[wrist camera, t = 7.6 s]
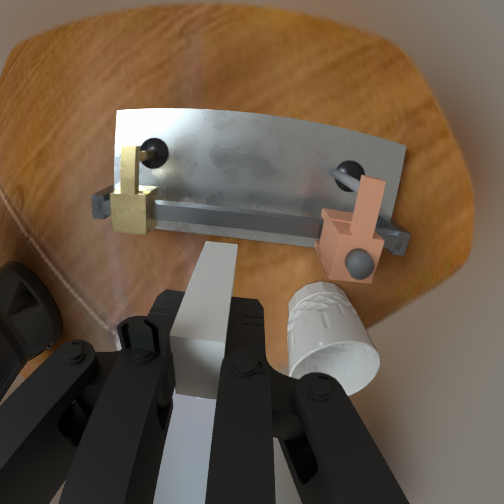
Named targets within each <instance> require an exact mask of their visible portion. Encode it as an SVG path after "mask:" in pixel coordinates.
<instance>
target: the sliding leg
mask: <svg viewBox="0 0 504 504" xmlns="http://www.w3.org/2000/svg"><path fill="white" fill-rule="evenodd" d="M333 177H334V178H335V179H337V180H338V181H340V182H341V183H343V184H344V185H346V186H347V187H349V188H350V189H352V190H353V191H354V192H356V193H357V194H358V195H357V199H356V204H355V208H354V213H351V212H345V211H339V210H333V209H327V208H322V212H321V216H322V218H323V219H324V223H323V228H322V233H321V237H320V240H316V241H315V246H314V248H315V250H316V252H317V255H318V257H319V260H320V262H322V265H323V267H324V270H325V272H326V275H327V277H328V279H331V280H341V281H351V282H361V283H371V282H372V279H373V276H374V273H375V270H376V267H377V264H378V261H379V258H380V255H381V252H382V248H383V245H384V240H383V239H382V238H381V237H380V236H379V235H378V234H377V233H376V232H375V231H374V230H375V226H376V222H377V218H378V214H379V210H380V206H381V202H382V197H383V193H384V188H385V184H386V182H385V181H383V180H381V179H378V178H374V177H370V176H365V175H361V180H360V181H359V180H357V179H355V178H353V177H351V176H350V175H348V174H346V173H344V172H342V171H340V170H335V171H334V172H333Z"/></svg>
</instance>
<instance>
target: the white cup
mask: <svg viewBox="0 0 504 504" xmlns="http://www.w3.org/2000/svg"><path fill="white" fill-rule="evenodd" d="M287 328H288V333H287V339H288V372H289V373H288V376H289V377H293V378H296V379H300V378H301V377H302V376H303V375H305V374H308V373H311V372H321V373H325V374H329V375H330V376H332V377H334V378H335V379H337V381H338V382H339V383H340V384H341V385H342V387H343V389H344V390H345V392H346V394H347V395H348V396H350V395H352V394H354V393H356V392H358V391H359V390H361V389H363V388H364V387H365V386H366V385H368V384H369V382H371V381H372V379H373V378H374V377H375V375H376V374H377V372H378V370H379V367H380V356H379V354H378V352H377V350H376V348H375V346H374V344H373V342H372V340H371V338H370V336H369V334H368V332H367V330H366V328H365V326H364V324H363V322H362V320H361V319H360V317H359V316H358V314H357V312H356V310H355V308H354V307H353V306H352V304H351V303H350V301H349V300H348V298H347V296H346V294H345V292H344V291H343V290H342V289H341V288H339V287H338V286H337V285H335V284H334V283H328V282H322V281H320V282H315V283H311V284H307V285H305V286H304V287H302V288H301V289H300V290H298V291H297V292H295V294H294V295H293V297H292V299H291V300H290V302H289V304H288V325H287Z"/></svg>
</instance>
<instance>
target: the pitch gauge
mask: <svg viewBox="0 0 504 504" xmlns="http://www.w3.org/2000/svg"><path fill="white" fill-rule="evenodd" d="M405 152H406V146H405V145H402V144H399V143H396V142H392V141H389V140H386V139H382V138H379V137H375V136H372V135H368V134H364V133H360V132H356V131H352V130H348V129H344V128H340V127H335V126H330V125H326V124H321V123H316V122H310V121H305V120H299V119H293V118H287V117H280V116H273V115H265V114H257V113H247V112H237V111H224V110H208V109H134V110H118V111H117V122H116V137H115V168H114V185H112V186H110V187H108V188H105V189H103V190H101V191H99V192H97V193H95V194H92V195H91V197H92V214H93V218H95V219H106V218H107V217H109V216H110V215H111V223H112V231H117V232H126V233H135V234H143V235H146V234H147V233H148V232H151V231H152V230H153V229H163V230H172V231H181V232H189V233H198V234H207V235H215V236H224V237H232V238H241V239H249V240H257V241H265V242H273V243H281V244H289V245H297V246H305V247H313V248H314V246H315V241H316V240H320V237H321V233H322V228H323V223H324V219H323V218H322V216H321V212H322V208H327V209H333V210H339V211H345V212H351V213H354V208H355V204H356V199H357V195H358V194H357V193H356V192H354V191H353V190H352V189H350V188H349V187H347V186H346V185H344V184H343V183H341V182H340V181H338V180H337V179H335V178H334V177H333V172H334V171H335V170H340V171H342V172H344V173H346V174H348V175H350V176H351V177H353V178H355V179H357V180H359V181H360V180H361V175H365V176H370V177H374V178H378V179H381V180H383V181H385V182H386V184H385V188H384V193H383V197H382V202H381V206H380V210H379V214H378V218H377V222H376V226H375V230H374V231H375V232H376V233H377V234H378V235H379V236H380V237H381V238H382V239H383V240H384V245H383V248H385V249H388V250H389V251H390V252H391V253H392V254H394V255H401V256H404V254H405V251H406V248H407V245H408V242H409V239H410V235H411V233H409V232H408V231H407V230H406V229H404V228H403V227H402V226H401V225H399V224H398V223H397V222H396V221H394V220H393V219H392V218H391V216H392V213H393V209H394V204H395V200H396V196H397V192H398V187H399V183H400V178H401V173H402V168H403V163H404V157H405ZM383 248H382V249H383Z"/></svg>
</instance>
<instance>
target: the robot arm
mask: <svg viewBox="0 0 504 504" xmlns="http://www.w3.org/2000/svg"><path fill="white" fill-rule="evenodd" d="M237 248H238V244H229V243H220V242H211V241H206V242H205V245H204V247H203V250H202V252H201V254H200V257H199V259H198V262H197V264H196V267H195V269H194V272H193V274H192V277H191V279H190V282H189V284H188V287H187V290H186V292H181V291H174V290H167V289H166V290H165V291H164V292H162V293H161V294H160V295H158V296H157V298H156V300H155V302H154V304H153V306H152V308H151V310H150V313H149V314H148V316H134V317H129V318H127V319H125V320H123V321H122V322H121V323H120V324H119V325H118V326H117V330H118V334H119V339H120V343H121V347H122V349H121V350H120V351H115V352H95V350H94V348H93V346H92V345H91V344H90V343H88V342H86V341H83V340H72V341H68V342H66V343H64V344H63V345H61V346H60V347H59V348H58V349H57V350H56V351H55V352H53V353H52V354H51V355H50V356H49V357H48V358H47V359H46V360H45V361H44V362H43V363H42V364H41V365H40V366H39V367H38V368H37V369H36V370H35V371H34V372H33V373H32V374H31V375H30V376H29V377H28V378H27V379H26V380H25V381H24V382H23V383H22V384H21V385H20V386H19V387H18V388H17V389H16V390H15V391H14V392H13V393H12V394H11V395H10V396H9V397H8V398H7V399H6V400H5V401H4V402H3V404H2V405H1V406H0V504H49V503H50V501H51V500H52V498H53V497H54V496H55V494H56V493H57V491H58V490H59V488H60V487H61V486H62V484H63V483H64V481H65V480H66V482H65V484H64V488H63V491H62V494H61V497H60V501H59V504H153V500H154V495H155V489H156V484H157V479H158V474H159V469H160V464H161V459H162V455H163V449H164V445H165V440H166V436H167V432H168V427H169V423H170V418H171V414H172V409H173V398H172V396H173V392H174V388H175V390H176V393H177V394H182V395H188V396H194V397H201V398H209V399H217V400H216V409H215V417H214V426H213V434H212V435H213V436H212V444H211V452H210V461H209V470H208V480H207V490H206V500H205V504H276V503H275V475H274V449H273V437H275V438H278V440H279V442H280V446H281V448H282V451H283V454H284V457H285V459H286V462H287V465H288V467H289V470H290V473H291V475H292V478H293V481H294V483H295V486H296V489H297V491H298V494H299V496H300V499H301V502H302V504H409V502H408V500H407V498H406V497H405V495H404V493H403V491H402V489H401V488H400V486H399V484H398V482H397V480H396V479H395V477H394V475H393V473H392V472H391V470H390V468H389V466H388V465H387V463H386V461H385V459H384V458H383V456H382V454H381V452H380V451H379V449H378V447H377V445H376V444H375V442H374V440H373V439H372V437H371V435H370V433H369V432H368V430H367V428H366V426H365V425H364V423H363V421H362V420H361V418H360V416H359V414H358V413H357V411H356V409H355V407H354V406H353V404H352V402H351V401H350V399H349V397H348V395H347V394H346V392H345V390H344V389H343V387H342V385H341V384H340V383H339V382H338V381H337V379H335V378H334V377H332V376H330V375H329V374H325V373H321V372H311V373H308V374H305V375H303V376H302V377H301V378H300V379H296V378H293V377H289V376H286V375H283V374H281V373H279V372H277V371H276V370H274V369H273V368H272V367H271V366H270V365H269V363H268V361H267V359H266V352H265V330H264V308H263V306H262V305H261V304H260V302H259V301H258V299H249V298H239V297H232V296H233V287H234V277H235V267H236V257H237ZM61 334H62V322H61V317H60V314H59V311H58V309H57V307H56V305H55V303H54V301H53V299H52V297H51V295H50V294H49V292H48V291H47V289H46V288H45V286H44V285H43V284H42V283H41V281H40V280H39V279H38V278H37V277H36V276H35V275H34V274H33V273H32V272H31V271H30V270H29V269H27V268H26V267H25V266H23V265H21V264H19V263H17V262H7V263H5V264H4V265H3V266H1V267H0V402H1V400H2V398H3V397H4V395H5V394H6V392H7V391H8V389H9V387H10V386H11V384H12V383H13V382H14V380H15V379H16V377H17V376H18V374H19V373H20V371H21V370H22V368H23V367H24V366H25V365H26V363H27V362H28V361H30V360H31V359H33V358H35V357H36V356H38V355H40V354H41V353H43V352H44V351H45V350H48V349H50V348H51V347H53V346H54V344H55V343H56V342H57V341H58V339H59V338H60V336H61ZM66 478H67V479H66Z"/></svg>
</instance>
